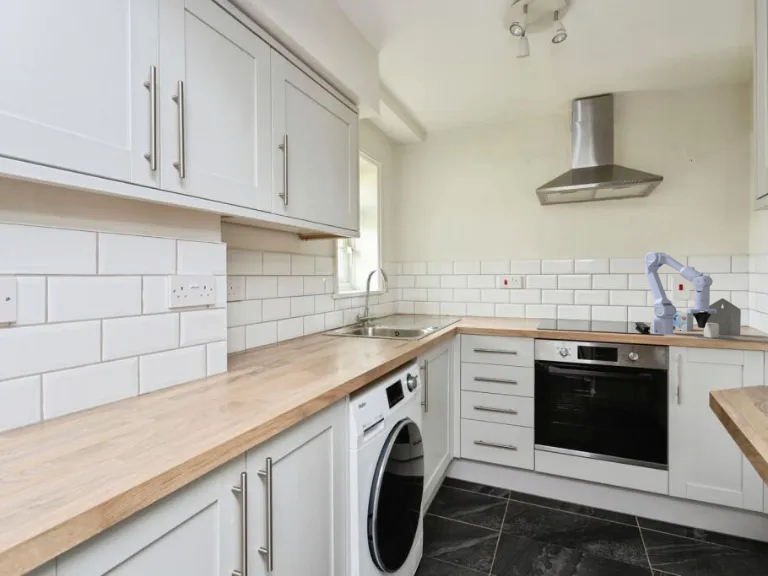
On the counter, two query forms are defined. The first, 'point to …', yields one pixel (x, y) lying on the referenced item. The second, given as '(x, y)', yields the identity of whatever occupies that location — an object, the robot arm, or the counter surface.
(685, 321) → the light bulb box
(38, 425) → the counter surface
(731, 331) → the gray chamfered slab
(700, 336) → the rubber mat
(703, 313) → the robot arm
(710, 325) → the cream block
